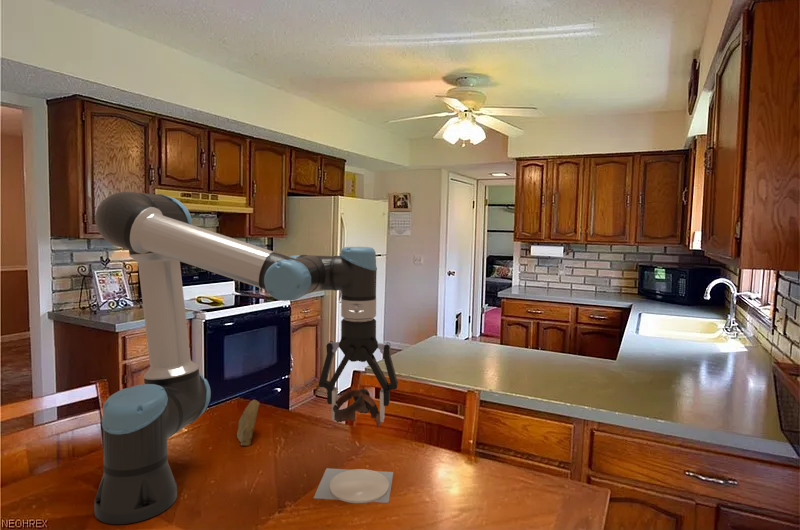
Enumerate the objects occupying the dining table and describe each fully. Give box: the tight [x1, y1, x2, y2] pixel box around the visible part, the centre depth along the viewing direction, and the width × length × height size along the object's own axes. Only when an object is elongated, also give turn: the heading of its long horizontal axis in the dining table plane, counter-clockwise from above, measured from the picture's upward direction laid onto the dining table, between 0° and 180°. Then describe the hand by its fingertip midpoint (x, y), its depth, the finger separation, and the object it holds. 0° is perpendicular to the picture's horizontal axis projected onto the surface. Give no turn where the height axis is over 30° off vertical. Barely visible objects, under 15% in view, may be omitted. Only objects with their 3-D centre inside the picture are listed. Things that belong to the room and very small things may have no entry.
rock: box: [235, 399, 260, 447], centre depth 134 cm, size 11×9×10 cm
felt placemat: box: [313, 467, 394, 504], centre depth 111 cm, size 16×13×1 cm
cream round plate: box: [330, 468, 389, 504], centre depth 110 cm, size 13×13×1 cm
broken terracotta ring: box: [333, 388, 382, 428], centre depth 108 cm, size 12×10×8 cm
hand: (358, 418), depth 109 cm, fingers closed on broken terracotta ring, 10 cm apart
